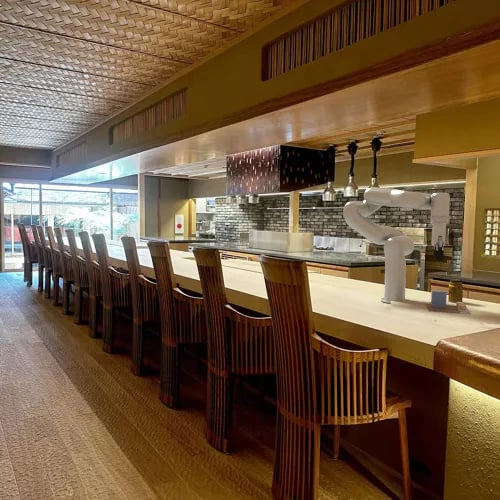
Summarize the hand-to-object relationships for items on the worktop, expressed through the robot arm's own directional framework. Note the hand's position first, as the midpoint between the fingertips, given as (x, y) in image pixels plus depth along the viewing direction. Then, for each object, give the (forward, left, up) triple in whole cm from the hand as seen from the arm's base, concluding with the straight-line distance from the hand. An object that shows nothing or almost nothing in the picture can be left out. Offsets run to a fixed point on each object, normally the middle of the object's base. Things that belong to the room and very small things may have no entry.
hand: (438, 258), depth 195 cm
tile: (+6, 0, -21) cm, 22 cm away
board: (+9, +3, -22) cm, 24 cm away
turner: (+9, +9, -21) cm, 24 cm away
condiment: (-11, +10, -23) cm, 27 cm away
